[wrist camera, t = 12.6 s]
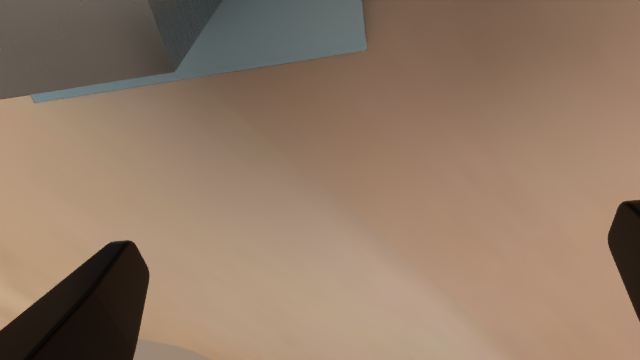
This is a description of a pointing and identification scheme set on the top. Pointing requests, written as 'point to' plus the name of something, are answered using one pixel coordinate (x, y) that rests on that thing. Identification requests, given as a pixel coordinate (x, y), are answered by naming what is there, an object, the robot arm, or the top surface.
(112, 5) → the block
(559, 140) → the top surface
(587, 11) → the top surface
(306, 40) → the pin tray
